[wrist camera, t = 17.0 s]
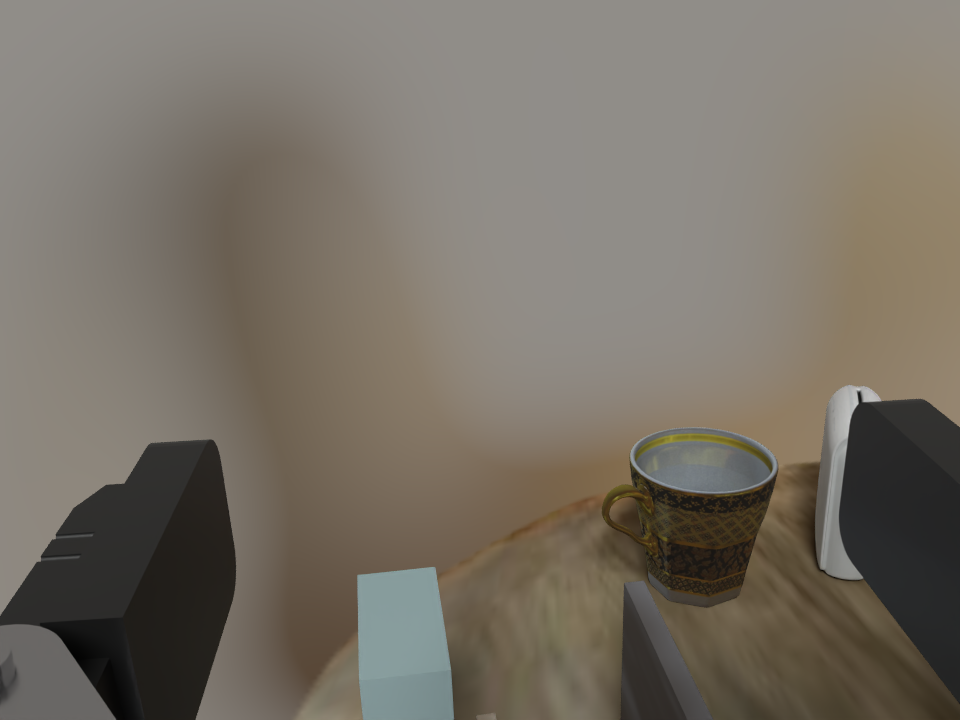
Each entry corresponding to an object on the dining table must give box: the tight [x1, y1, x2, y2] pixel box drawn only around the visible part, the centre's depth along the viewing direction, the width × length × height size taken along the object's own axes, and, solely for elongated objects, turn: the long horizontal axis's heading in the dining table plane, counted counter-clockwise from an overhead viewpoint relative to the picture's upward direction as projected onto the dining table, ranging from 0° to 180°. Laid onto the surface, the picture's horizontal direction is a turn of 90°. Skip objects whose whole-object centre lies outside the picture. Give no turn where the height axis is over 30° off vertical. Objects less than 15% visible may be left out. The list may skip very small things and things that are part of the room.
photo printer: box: [815, 385, 881, 580], centre depth 68 cm, size 10×4×12 cm, turn 161°
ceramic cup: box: [602, 428, 778, 607], centre depth 65 cm, size 13×10×10 cm
